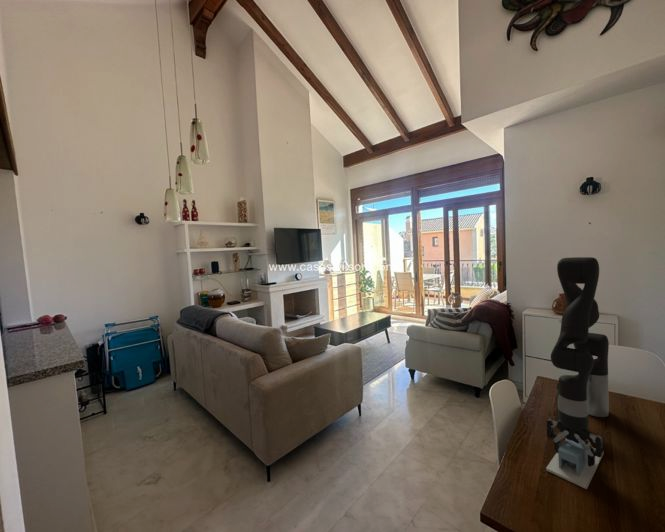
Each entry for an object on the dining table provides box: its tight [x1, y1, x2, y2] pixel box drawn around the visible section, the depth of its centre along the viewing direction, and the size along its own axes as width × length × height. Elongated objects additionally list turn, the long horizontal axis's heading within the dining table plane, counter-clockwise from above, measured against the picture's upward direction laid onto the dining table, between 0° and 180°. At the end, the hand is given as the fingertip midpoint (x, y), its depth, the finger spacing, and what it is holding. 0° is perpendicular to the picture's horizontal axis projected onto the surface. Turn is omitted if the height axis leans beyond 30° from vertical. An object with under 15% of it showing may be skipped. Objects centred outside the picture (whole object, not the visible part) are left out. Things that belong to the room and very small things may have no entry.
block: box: [558, 438, 588, 476], centre depth 95 cm, size 12×5×6 cm, turn 128°
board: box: [545, 447, 605, 490], centre depth 97 cm, size 22×10×3 cm, turn 128°
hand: (573, 458), depth 95 cm, fingers open, 7 cm apart
